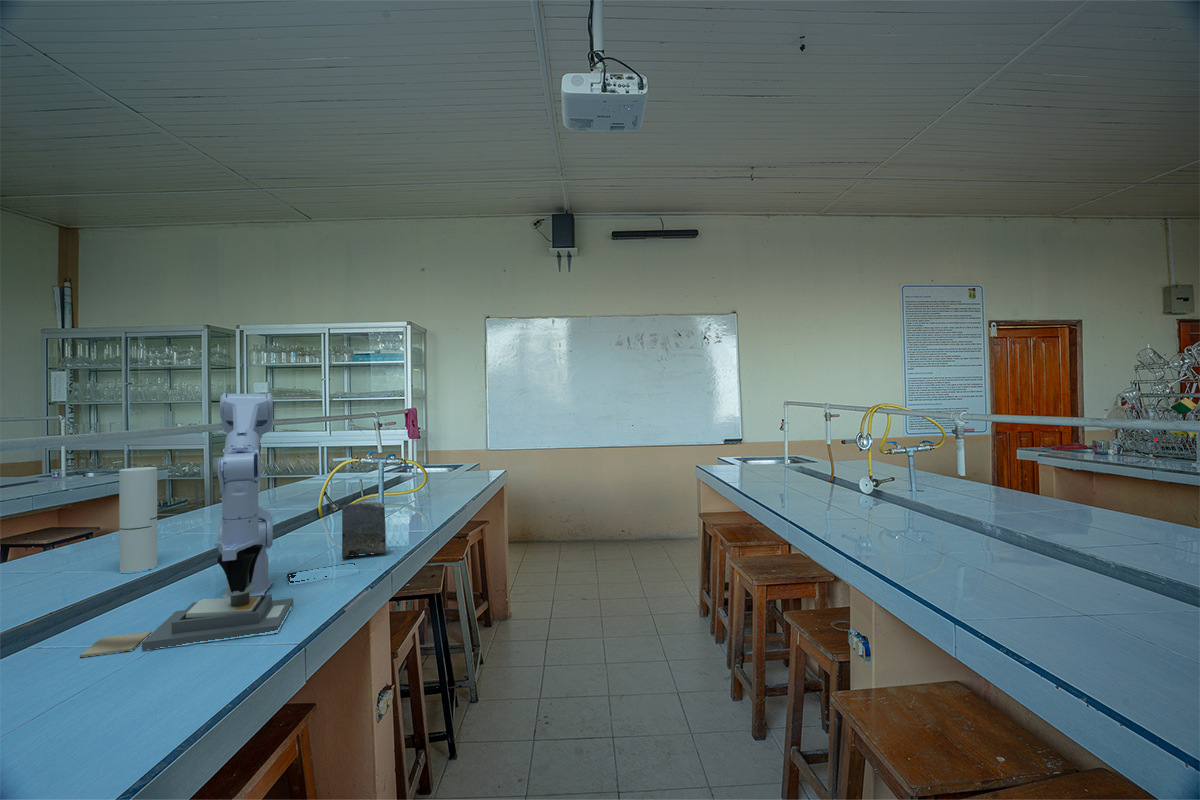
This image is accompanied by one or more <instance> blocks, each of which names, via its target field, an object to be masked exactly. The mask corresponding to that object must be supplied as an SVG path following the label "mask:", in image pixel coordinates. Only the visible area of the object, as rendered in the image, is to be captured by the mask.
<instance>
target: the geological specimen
mask: <svg viewBox="0 0 1200 800" xmlns="http://www.w3.org/2000/svg"><path fill="white" fill-rule="evenodd" d="M385 510H386V509H385V503H383V502H376V501H374V502H373V501H372V502H371V501H361V502H357V503H349V504H346V505H344V506H343V505H342V506H341V514H342V515H341V521H342V522H341V523H342V526H341V527H342V529H341V532H342V533H341V534H342V535H341V538H342V541H341V557H342V558H345V557H346V556H347V555H348V556H349V555H359V554H369V555H370V554H371V553H380V554H385V553H386V551H387V550H386V546H387V545H386V543H387V542H386V514H385V513H386V511H385ZM371 555H372V554H371Z"/></svg>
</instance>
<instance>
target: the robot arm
mask: <svg viewBox="0 0 1200 800" xmlns="http://www.w3.org/2000/svg"><path fill="white" fill-rule="evenodd" d="M219 416H220V419H221V425H222V428H223V432H224V433H226V434H227V435H226V437H225V442H224V448H223V449H224V450H223V456H219V458H218V461H217V462H218V463H217V477H218V483H219V491H220V492H219V493H220V495H221V518H220V520H219V528H218V531H217V532H218V534H217V541H215V542H214V547H215V548H216V547H217V548H218V549H217V550H218V552H219V553H220V554H219V555H218V557H217V563H218V565H219V566H220V567H221V568H222V570H223V572H224V574H225V576H226V577H225V578H226V588H227V587H230V590H231V592H232V593H233V591H239V592H244V591H245V589H246V586H247V581H248V573H249V583H254V590H253V591H251V592H249V594H250V596H258V595H263V594H264V593H265V592H266V590H267V589H268V588H269V586H270V585H271V584H272V582H273V583H274V580H269V555H268V553H267V549H268V550H269V549H271V547H273V543H274V542H273V541H274V539H273V538H274V537H273V536H274V534H273V533H274V527H273V526H274V525H273V515H272V513H271V512H270V511H269V510H267V509H265V508H264V507H262V506H260V505H259V483H260V479H261V475H262V462H261V461H262V459H261V455H260V443H261V441H262V437H263V435H265V434H266V433H267V434H268V432H271V431H272V427H273V418H274V396H273V394H271V393H270V392H268V393H228V392H223V393H222V394H221V395H220V399H219ZM272 585H273V584H272ZM272 585H271V586H272ZM271 586H270V587H271ZM269 589H270V588H269ZM269 589H268V590H269ZM268 590H267V591H268ZM261 593H263V594H261ZM266 593H267V592H266ZM266 593H265V594H266ZM265 594H264V595H265ZM222 598H230V596H227V595H225V593H223V595H222V596H220V598H219V599H222Z"/></svg>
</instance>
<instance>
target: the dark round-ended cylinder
mask: <svg viewBox="0 0 1200 800" xmlns="http://www.w3.org/2000/svg"><path fill="white" fill-rule="evenodd" d="M253 590H254V583H249V573H248V581H247V586H246V589H245V591H244V592H239V591H233V593H232V592H231V590H230V587H227V586H226V587H225V588H224V594H225V595H227V596H230V601H231V606H232V607H239V606H243V605H246V604H248V603H249V602H250V594H249V592H251V591H253Z"/></svg>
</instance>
